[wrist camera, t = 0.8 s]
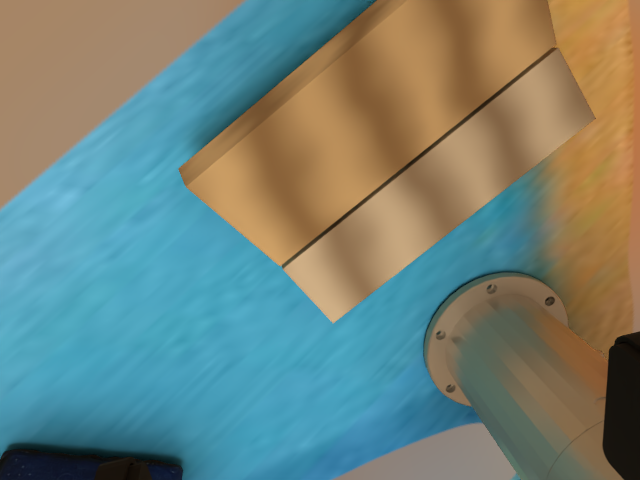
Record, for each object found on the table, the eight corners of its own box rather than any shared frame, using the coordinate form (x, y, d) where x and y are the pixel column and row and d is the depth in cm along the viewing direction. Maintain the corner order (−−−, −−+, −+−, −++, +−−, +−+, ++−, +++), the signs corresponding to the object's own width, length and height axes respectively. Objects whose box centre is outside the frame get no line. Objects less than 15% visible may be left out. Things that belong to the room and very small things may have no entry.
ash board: (541, 47, 37) (558, 47, 35) (578, 115, 39) (595, 118, 37) (280, 258, 39) (282, 269, 37) (328, 310, 41) (333, 323, 40)
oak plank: (502, -106, 29) (526, -101, 28) (535, 34, 36) (556, 44, 35) (178, 168, 31) (185, 186, 30) (270, 248, 39) (279, 266, 37)
